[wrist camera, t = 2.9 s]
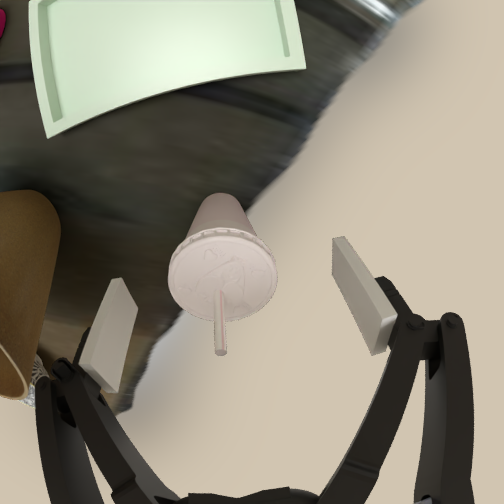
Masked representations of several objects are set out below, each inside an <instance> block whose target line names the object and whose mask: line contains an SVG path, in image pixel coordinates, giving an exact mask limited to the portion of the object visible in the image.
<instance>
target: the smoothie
mask: <svg viewBox="0 0 504 504" xmlns="http://www.w3.org/2000/svg"><path fill="white" fill-rule="evenodd" d="M168 285H169V289H170V292H171V294H172V296H173V298H174V300H175V301H176V302H177V303H178V305H179V306H181V307H182V308H183V309H184V310H185V311H187V312H188V313H190V314H192V315H194V316H196V317H199V318H201V319H205V320H209V321H214V335H215V354H216V355H218V356H224V355H226V354H227V347H226V331H225V322H226V321H234V320H239V319H242V318H245V317H248V316H250V315H252V314H254V313H256V312H257V311H259V310H260V309H261V308H263V307H264V306H265V305H266V304H267V303H268V302H269V300H270V299H271V298H272V295H273V294H274V292H275V289H276V286H277V270H276V265H275V259H274V257H273V255H272V253H271V251H270V249H269V248H268V247H267V246H266V244H265V243H264V242H263V241H262V240H261V239H259V238H258V237H257V235H256V233H255V231H254V230H253V228H252V226H251V224H250V222H249V220H248V218H247V216H246V214H245V213H244V211H243V209H242V207H241V205H240V203H239V202H238V200H237V199H236V198H235V197H233V196H232V195H230V194H227V193H215V194H212V195H210V196H208V197H207V198H205V199H204V201H203V202H202V203H201V205H200V208H199V210H198V212H197V214H196V216H195V218H194V220H193V223H192V225H191V227H190V229H189V231H188V234H187V236H186V238H185V240H184V241H183V242H182V243H181V244H180V245H179V246H178V247H177V249H176V250H175V252H174V253H173V255H172V257H171V261H170V264H169V273H168Z"/></svg>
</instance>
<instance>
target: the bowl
mask: <svg viewBox="0 0 504 504" xmlns="http://www.w3.org/2000/svg"><path fill="white" fill-rule="evenodd" d="M42 376H47V377H48V378H49V379H50V377H49V375H48V373H47V371H46V370H45V368H44V367H43V363H42V360H41V359H40V357H39V356H38V355H37V354H36V356H35V361H34V366H33V371H32V376H31V381H30V387H29V392H28V396H27V397H26V398H25V399H23V400H18V401H20V402H21V403H23V404H25V405H27V406H29V407H32V408H34V409H35V384H36V382H37V380H38V379H39V378H40V377H42Z"/></svg>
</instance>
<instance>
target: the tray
mask: <svg viewBox="0 0 504 504" xmlns="http://www.w3.org/2000/svg"><path fill="white" fill-rule="evenodd" d="M29 34H30V48H31V58H32V66H33V73H34V80H35V86H36V91H37V97H38V102H39V106H40V111H41V115H42V120H43V124H44V128H45V132H46V135H47V139H48V138H51V137H53V136H56V135H58V134H61V133H63V132H65V131H67V130H69V129H71V128H73V127H75V126H78V125H80V124H82V123H84V122H86V121H89V120H91V119H93V118H96V117H98V116H101V115H103V114H105V113H108V112H111V111H113V110H116V109H118V108H121V107H124V106H127V105H130V104H132V103H135V102H138V101H141V100H144V99H148V98H151V97H154V96H157V95H161V94H164V93H168V92H171V91H175V90H179V89H183V88H187V87H191V86H196V85H200V84H205V83H209V82H214V81H220V80H225V79H231V78H237V77H243V76H250V75H258V74H267V73H276V72H288V71H299V70H303V69H306V64H305V58H304V51H303V46H302V40H301V34H300V29H299V24H298V19H297V14H296V9H295V4H294V0H31V1H29Z"/></svg>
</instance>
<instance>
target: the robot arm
mask: <svg viewBox="0 0 504 504" xmlns="http://www.w3.org/2000/svg"><path fill="white" fill-rule="evenodd" d="M332 251H333V252H332V253H333V255H332V256H333V257H332V275H333V277H334V279H335V281H336V283H337V285H338V287H339V289H340V291H341V293H342V295H343V297H344V299H345V301H346V302H347V305H348V307H349V309H350V311H351V313H352V315H353V317H354V319H355V321H356V323H357V325H358V327H359V329H360V331H361V333H362V335H363V338H364V340H365V342H366V344H367V346H368V348H369V351H370V353H371V355H372V356H373V355H376V354H379V353H382V352H385V351H386V348H387V345H388V346H389V347H390V350H391V352H390V355H389V357H388V360H387V364H386V367H385V369H384V372H383V374H382V377H381V379H380V382H379V385H378V387H377V390H376V392H375V394H374V397H373V399H372V401H371V404H370V406H369V408H368V410H367V413H366V415H365V417H364V419H363V421H362V423H361V426H360V427H359V429H358V431H357V433H356V436H355V437H354V439H353V441H352V443H351V445H350V447H349V449H348V450H347V453H346V454H345V456H344V458H343V459H342V461H341V463H340V465H339V466H338V468H337V470H336V471H335V473H334V474H333V476H332V478H331V479H330V481H329V482H328V484H327V485H326V487H325V488H324V490H323V491H322V493H321V494H320V496H317V495H316V494H314V493H311V492H309V491H305V490H300V489H290V488H289V487H283V488H276V489H269V490H262V491H260V492H257V493H254V494H250V495H247V496H244V497H241V498H233V497H227V496H222V495H217V494H212V493H210V494H206V493H204V494H200V493H198V494H197V493H188V497H185V498H182V499H180V498H179V497H178V496H177V495H176V494H175V493H174V492H172V491H171V490H170V489H168V488H167V487H166V486H165V485H164V484H163V483H162V481H161V480H160V479H159V478H158V477H157V476H156V474H155V473H154V472H153V470H152V469H151V468H150V467H149V465H148V464H147V463H146V461H145V460H144V459H143V457H142V456H141V455H140V453H139V452H138V451H137V449H136V448H135V446H134V445H133V443H132V442H131V441H130V439H129V438H128V436H127V435H126V433H125V432H124V430H123V429H122V427H121V425H120V424H119V422H118V421H117V419H116V417H115V416H114V414H113V412H112V411H111V409H110V407H109V406H108V404H107V402H106V400H105V399H104V397H103V395H102V394H101V393H100V390H101V388H102V389H103V390H104V391H105V392H107V393H118V390H119V385H120V380H121V376H122V371H123V366H124V362H125V358H126V354H127V349H128V345H129V341H130V337H131V334H132V330H133V326H134V322H135V319H136V315H137V312H138V307H137V306H136V304H135V302H134V300H133V298H132V297H131V295H130V293H129V291H128V289H127V287H126V285H125V283H124V281H123V279H122V278H116V279H112V280H111V282H110V284H109V287H108V289H107V291H106V293H105V296H104V298H103V300H102V303H101V305H100V307H99V310H98V312H97V315H96V317H95V320H94V322H93V325H92V327H88V328H87V330H86V331H85V332H84V334H83V336H82V338H81V342H80V344H79V346H78V347H79V348H78V349H77V352H76V355H75V357H74V360H73V363H72V364H71V363H70V362H69V361H68V360H67V358H64V357H63V358H59V359H57V360H56V361H55V362H54V363H53V365H52V367H51V374H52V375H53V376H54V377H55V378H56V380H51V379H49V378H48V377H47V376H42V377H40V378H39V379H38V380H37V382H36V384H35V412H36V426H37V434H38V442H39V450H40V457H41V462H42V467H43V472H44V478H45V482H46V486H47V490H48V494H49V498H50V501H51V504H104V502H103V499H102V497H101V494H100V491H99V489H98V486H97V483H96V480H95V477H94V474H93V471H92V467H91V464H90V461H89V457H88V453H87V449H86V446H85V443H86V445H87V447H88V449H89V451H90V452H91V455H92V456H93V458H94V460H95V462H96V464H97V465H98V467H99V469H100V471H101V472H102V474H103V475H104V477H105V479H106V480H107V482H108V484H109V485H110V487H111V488H112V491H113V492H112V494H111V497H112V499H113V501H114V503H115V504H364V503H365V501H366V500H367V498H368V496H369V495H370V493H371V491H372V489H373V487H374V485H375V483H376V481H377V479H378V477H379V471H380V468H381V466H382V464H383V462H384V459H385V458H386V455H387V453H388V451H389V448H390V447H391V444H392V442H393V440H394V437H395V435H396V432H397V430H398V427H399V424H400V422H401V419H402V416H403V414H404V411H405V408H406V405H407V402H408V399H409V396H410V393H411V390H412V387H413V383H414V379H415V376H416V373H417V369H418V365H419V361H420V360H425V371H426V372H425V373H426V374H425V377H426V378H425V387H426V388H425V412H424V426H423V437H422V445H421V453H420V461H419V466H418V472H417V477H416V483H415V490H414V504H475V503H474V496H473V490H472V485H471V480H470V477H471V469H472V458H473V443H474V404H473V386H472V376H471V367H470V358H469V351H468V345H467V339H466V333H465V328H464V323H463V321H462V318H461V317H460V316H459V315H457V314H455V313H452V312H448V313H445V314H444V315H443V316H442V317H441V319H440V320H431V321H428V320H425V319H424V318H423V317H421V316H420V315H417V314H413V313H412V311H411V310H410V308H409V307H408V305H407V304H406V302H405V301H404V299H403V298H402V296H401V295H400V294H399V292H398V290H396V288H395V286H394V285H393V283H392V282H391V281H390V280H388V279H387V278H385V277H384V276H382V277H378V278H374V277H373V276H372V274H371V273H370V271H369V270H368V269H367V267H366V266H365V264H364V263H363V261H362V260H361V258H360V257H359V256H358V254H357V253H356V251H355V250H354V249H353V247H352V246H351V245H350V243H349V242H348V240H347V239H346V238H345V237H344V236H343V237H337V238H333V249H332ZM84 441H85V442H84Z"/></svg>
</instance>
